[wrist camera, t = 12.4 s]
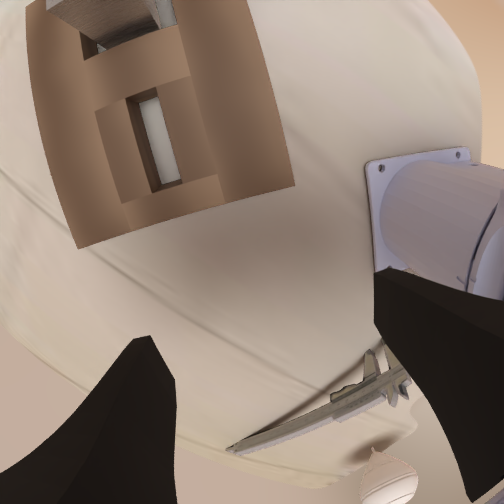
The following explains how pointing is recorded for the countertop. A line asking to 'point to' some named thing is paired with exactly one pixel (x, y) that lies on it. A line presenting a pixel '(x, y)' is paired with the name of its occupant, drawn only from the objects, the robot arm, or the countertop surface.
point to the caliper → (339, 404)
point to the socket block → (174, 111)
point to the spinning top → (387, 480)
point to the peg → (108, 18)
